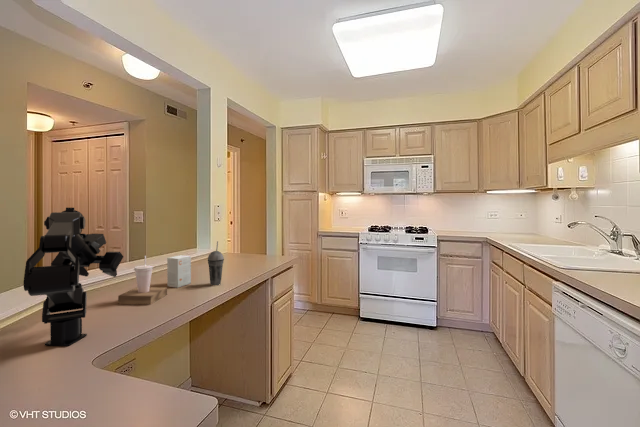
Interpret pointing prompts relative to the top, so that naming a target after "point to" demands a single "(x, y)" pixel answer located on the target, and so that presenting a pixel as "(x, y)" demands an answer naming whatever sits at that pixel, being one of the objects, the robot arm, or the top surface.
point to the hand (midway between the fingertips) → (101, 275)
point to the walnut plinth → (142, 296)
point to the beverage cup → (215, 266)
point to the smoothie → (143, 277)
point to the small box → (178, 271)
